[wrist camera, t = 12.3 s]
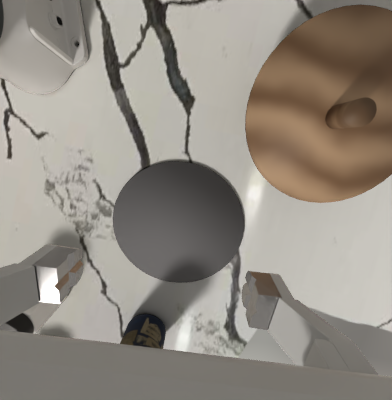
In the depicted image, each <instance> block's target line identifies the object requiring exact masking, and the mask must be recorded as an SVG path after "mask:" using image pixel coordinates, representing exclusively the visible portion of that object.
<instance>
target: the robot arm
mask: <svg viewBox="0 0 392 400" xmlns="http://www.w3.org/2000/svg"><path fill="white" fill-rule="evenodd" d="M77 43H79V47H77ZM87 60H88V48H87V42H86V36H85V30H84V24H83V18H82V12H81V6H80V0H0V77H1V78H3V79H5V80H6V81H8V82H10V83H11V84H13V85H14V86H16V87H17V88H19V89H21V90H23V91H25V92H28V93H32V94H47V93H51V92H54V91H56V90H57V89H59V88H60V87H61V86H62V85H64V83H65V82H66V81H67V80H68V78H69V76H70V75H71V73H72V72H73V71H74V70H75V69H76V68H78V67H80V66H81V65H83V64H84V63H85V62H86V61H87ZM82 257H83V251H82V250H81V249H80V248H73V247H67V246H59V245H53V244H47V245H45V246H44V247H42V248H41V249H39V250H38V251H36V252H35V253H33V254H32V255H31V256H29V257H28V258H26V259H25V260H23V261H22V262H20V263H19V264H12V265H8V266H5V267H2V268H0V326H1V325H2V324H4V323H6V322H7V321H9V320H11V319H13V318H14V317H16V316H18V315H19V314H21V313H23V312H24V311H26V310H28V309H30V308H31V307H33V306H35V305H36V304H38V303H39V302H48V303H59V304H60V303H61V302H62V300H63V299H64V298H65V297H66V296H67V295H68V293H69V292H70V287H72V286H74V285H76V284H77V283H78V281H79V280H80V278H81V276H82V274H83V263H82V262H81V261H80V259H81V258H82ZM245 278H246V281H247V283H245V284H244V285H243V289H242V302H243V306H244V307H245V308H246V309H247V310H246V318H247V321H248V325H249V327H251V328H258V329H264V330H268V332H269V333H270V334H271V335H272V337H273V338H274V339H275V341H276V342H277V343H278V344H279V345H280V347H281V348H282V349H283V350H284V352H285V353H286V354H287V355H288V356H289V358H290V359H291V360H292V361H293V363H294V364H295V365H291V364H283V363H274V362H266V361H258V360H249V359H240V358H232V357H224V356H216V355H208V354H200V353H191V352H183V351H175V350H167V349H158V348H150V347H141V346H133V345H125V344H116V343H108V342H100V341H91V340H83V339H75V338H66V337H58V336H50V335H41V334H33V333H24V332H16V331H8V330H0V400H392V377H391V376H382V375H378V373H377V372H376V371H375V369H374V368H373V367H372V366H371V364H370V363H369V362H368V360H367V359H366V357H365V356H364V355H363V353H362V352H361V351H360V349H359V348H358V347H357V345H356V344H355V343H354V342H353V341H352V340H350V339H349V338H347V337H346V336H345V335H343V334H342V333H341V332H339V331H338V330H337V329H336V328H334V327H333V326H332V325H330V324H329V323H328V322H326V321H325V320H324V319H322V318H321V317H319V316H318V315H317V314H315V313H314V312H313V311H312V310H310V309H309V308H308V307H306V306H305V305H304V304H302V303H301V302H300V301H298V300H294V298H293V296H292V295H291V293H290V291H289V290H288V288H287V286H286V285H285V283H284V281H283V280H282V278H281V276H280V275H279V274H272V273H260V272H252V271H248V272H247V274H246V277H245Z"/></svg>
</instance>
